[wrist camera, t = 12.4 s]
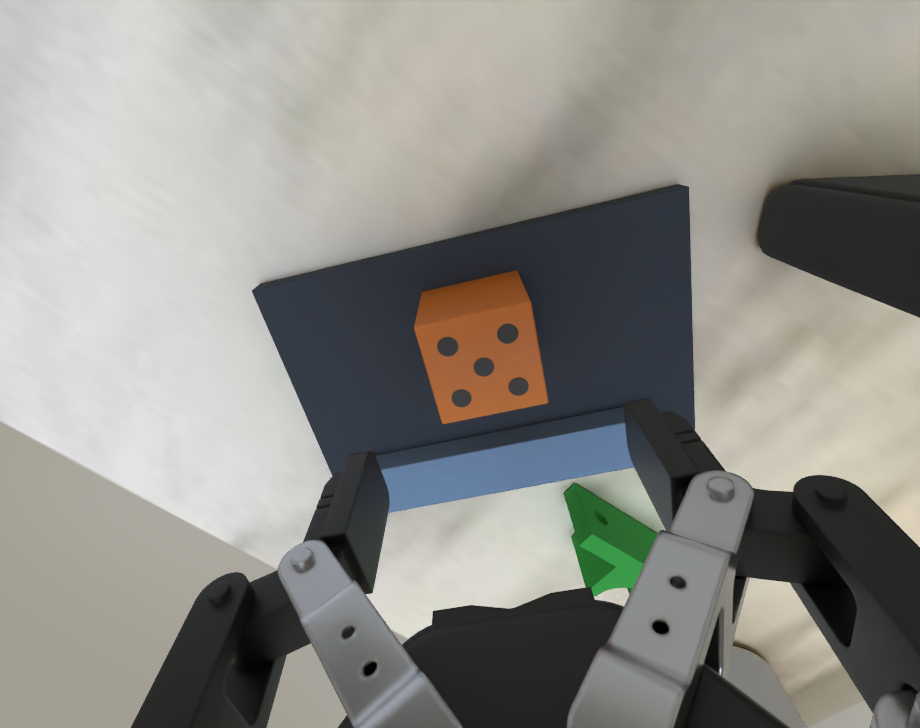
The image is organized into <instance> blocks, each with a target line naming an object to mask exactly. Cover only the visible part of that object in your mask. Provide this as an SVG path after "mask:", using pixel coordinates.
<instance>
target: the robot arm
mask: <svg viewBox="0 0 920 728" xmlns="http://www.w3.org/2000/svg"><path fill="white" fill-rule="evenodd" d="M624 418H625V428H626V438H627V446H628V451H629V455H630V458H631V461H632V463H633V465H634V467H635V469H636V471H637V473H638V475H639V477H640V479H641V481H642V483H643V485H644V487H645V489H646V491H647V493H648V495H649V497H650V499H651V501H652V503H653V505H654V507H655V509H656V511H657V513H658V515H659V517H660V519H661V521H662V523H663V525H664V527H665V529H666V531H664V530H661V531H660V532H659V533H658V535H657V537H656V539H655V541H654V543H653V545H652V548H651V550H650V552H649V554H648V556H647V558H646V561H645V563H644V565H643V567H642V569H641V571H640V574H639V576H638V578H637V580H636V582H635V584H634V587H633V589H632V591H631V593H630V595H629V597H628V600H627V602H626V604H625V606H624V607H623V606H621V605H617V604H614V603H611V602H606V601H599V600H595V599H594V596H593V592H592V589H591V587H587V588H581V589H574V590H568V591H561V592H555V593H550V594H548V595H545V596H543V597H540V598H538V599H535V600H533V601H530V602H528V603H525V604H523V605H520V606H518V607H515V608H512V609H505V608H494V607H484V606H473V605H470V606H463V607H457V608H450V609H443V610H437V611H433V619H432V625H431V626H428V627H426V628H425V629H423V630H421V631H419V632H418V633H416V634H415V635H413V636H412V637H410V638H409V639H408V640H407V641H406V642H405V643H403V645H401V644H400V642H399V641H398V639H397V638H396V636H395V635H394V634H393V632H392V631H391V629H390V628H389V627H388V625H387V624H386V622H385V621H384V620H383V618H382V617H381V616H380V614H379V613H378V611H377V610H376V609H375V607H374V606H373V604H372V603H371V602H370V600H369V599H368V597H367V596H366V595H365V594H370V593H373V588H374V583H375V578H376V573H377V568H378V562H379V557H380V552H381V547H382V542H383V537H384V531H385V526H386V521H387V516H388V511H389V505H390V499H389V491H388V487H387V485H386V482H385V479H384V477H383V474H382V472H381V469H380V466H379V464H378V461H377V459H376V456H375V454H374V452H373V451H367V452H361V453H356V454H351V455H349V456H348V457H347V460H346V463H345V465H344V468H343V471H342V472H339V473H335V474H334V475H333V476H332V478H331V479H330V480H329V481H328V482H327V483H326V485H325V487H324V489H323V492H322V494H321V499H320V500H319V502H318V505H317V509H316V510H315V513H314V515H313V518H312V520H311V523H310V526H309V528H308V531H307V533H306V536H305V539H304V541H303V543H301V544H299V545H297V546H295V547H294V548H292V549H291V550H290V551H289V552H288V553H287V554H286V555H285V556H284V557H283V558H282V560H281V562H280V564H279V566H278V570H277V571H275V572H273V573H271V574H268V575H266V576H264V577H261V578H259V579H257V580H254V581H252V582H250V583H249V581H248V579H247V578H246V576H245V575H244V574H242V573H238V572H234V573H229V574H226V575H223V576H221V577H219V578H217V579H216V580H214V581H213V582H211V583H210V584H209V585H208V586H206V587H205V588H204V589H203V590H202V592H201V593H200V594H199V596H198V597H197V599H196V600H195V602H194V604H193V606H192V608H191V610H190V612H189V614H188V616H187V618H186V620H185V622H184V624H183V626H182V628H181V630H180V632H179V634H178V636H177V638H176V640H175V642H174V644H173V646H172V648H171V650H170V651H169V654H168V655H167V658H166V659H165V661H164V663H163V665H162V667H161V669H160V671H159V673H158V675H157V677H156V679H155V681H154V683H153V685H152V687H151V689H150V691H149V693H148V695H147V697H146V699H145V701H144V703H143V705H142V707H141V709H140V711H139V713H138V715H137V717H136V719H135V721H134V723H133V725H132V726H131V728H266V727H267V723H268V720H269V716H270V712H271V709H272V705H273V702H274V698H275V695H276V691H277V688H278V684H279V680H280V677H281V673H282V669H283V666H284V662H285V659H286V655H287V654H289V653H291V652H293V651H295V650H297V649H299V648H301V647H303V646H306V645H308V644H310V643H311V644H312V646H313V648H314V649H315V652H316V654H317V655H318V657H319V659H320V661H321V663H322V665H323V667H324V669H325V671H326V673H327V675H328V677H329V679H330V681H331V683H332V685H333V687H334V689H335V691H336V693H337V695H338V697H339V699H340V701H341V703H342V705H343V707H344V709H345V711H346V713H347V716H346V717H345V719H344V720H343V721H342V723H341V724H340V725H339V727H338V728H790V727H789V726H787V725H786V724H785V723H783V722H782V721H781V720H779V719H778V718H777V717H775V716H774V715H773V714H771V713H770V712H769V711H768V710H766V709H765V708H764V707H762V706H761V705H760V704H758V703H757V702H756V701H754V700H753V699H752V698H750V697H749V696H748V695H746V694H745V693H744V692H742V691H741V690H740V689H738V688H737V687H736V686H734V685H733V684H732V683H730V682H729V681H728V680H726V679H727V675H728V671H729V666H730V660H731V653H732V646H733V640H734V635H735V631H736V627H737V623H738V620H739V616H740V612H741V608H742V604H743V601H744V597H745V593H746V589H747V585H748V582H749V578H758V579H767V580H775V581H783V582H790V583H791V585H792V587H793V588H794V590H795V591H796V593H797V594H798V596H799V598H800V599H801V601H802V602H803V604H804V605H805V607H806V609H807V610H808V612H809V613H810V615H811V616H812V618H813V620H814V621H815V623H816V624H817V626H818V627H819V629H820V631H821V632H822V634H823V635H824V637H825V638H826V640H827V642H828V643H829V645H830V646H831V648H832V649H833V651H834V653H835V654H836V656H837V657H838V659H839V660H840V662H841V664H842V665H843V667H844V668H845V670H846V671H847V673H848V675H849V676H850V678H851V679H852V681H853V682H854V684H855V686H856V687H857V689H858V690H859V692H860V693H861V695H862V697H863V698H864V700H865V701H866V703H867V704H868V706H869V708H870V709H871V711H872V712H873V716H872V720H871V725H870V728H920V547H919V546H918V545H917V544H916V543H915V542H914V541H913V540H912V539H911V538H910V537H909V536H908V535H907V534H906V533H905V532H904V531H903V530H902V529H901V528H900V527H899V526H898V525H897V524H896V523H895V522H894V521H893V520H892V519H891V518H890V517H889V516H888V515H887V514H886V513H885V512H884V511H883V510H882V509H881V508H880V507H879V506H878V505H877V504H876V503H875V502H874V501H873V500H872V499H871V498H870V497H869V496H868V495H867V494H866V493H865V492H864V491H863V490H862V489H861V488H859V487H858V486H856V485H855V484H853V483H851V482H849V481H846V480H844V479H840V478H837V477H832V476H825V475H815V476H808V477H805V478H802V479H800V480H799V481H798V482H797V483H796V484H795V486H794V490H793V492H784V491H768V490H760V489H755V488H752V486H751V485H750V484H749V483H748V482H747V481H746V480H745V479H743V478H742V477H740V476H738V475H736V474H733V473H730V472H726V471H725V470H724V468H723V467H722V466H721V464H720V463H719V462H718V460H717V459H716V458H715V457H714V455H713V454H712V453H711V451H710V450H709V449H708V447H707V446H706V445H705V443H704V442H703V441H701V438H700V437H699V436H698V434H697V433H696V432H694V429H693V428H692V426H691V425H690V424H689V422H688V421H687V420H686V419H685V418H684V417H682V416H680V415H678V414H676V413H675V412H673V411H666V412H661V413H660V412H659V410H658V409H657V408H656V406H655V405H654V403H653V402H652V400H651V399H650V398H646V399H641V400H635V401H630V402H625V403H624Z"/></svg>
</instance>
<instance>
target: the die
mask: <svg viewBox="0 0 920 728" xmlns="http://www.w3.org/2000/svg"><path fill="white" fill-rule="evenodd" d="M414 330H415V334H416V337H417V340H418V344H419V347H420V351H421V354H422V357H423V361H424V364H425V368H426V371H427V374H428V378H429V381H430V385H431V388H432V391H433V395H434V398H435V401H436V405H437V408H438V412H439V415H440V418H441V422H442V424H447V423H452V422H457V421H462V420H467V419H472V418H477V417H482V416H487V415H492V414H497V413H502V412H507V411H512V410H517V409H522V408H527V407H532V406H537V405H542V404H547V403H548V395H547V389H546V384H545V378H544V372H543V367H542V361H541V355H540V350H539V344H538V338H537V333H536V327H535V321H534V316H533V310H532V304H531V301H530V299H529V296H528V294H527V292H526V289H525V287H524V285H523V282H522V280H521V278H520V276H519V273H518V271H516V270H515V271H511V272H507V273H502V274H498V275H494V276H489V277H485V278H481V279H476V280H472V281H467V282H463V283H459V284H454V285H450V286H446V287H441V288H437V289H432V290H428V291H424V292H422V294H421V298H420V303H419V307H418V312H417V316H416V320H415V325H414Z"/></svg>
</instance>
